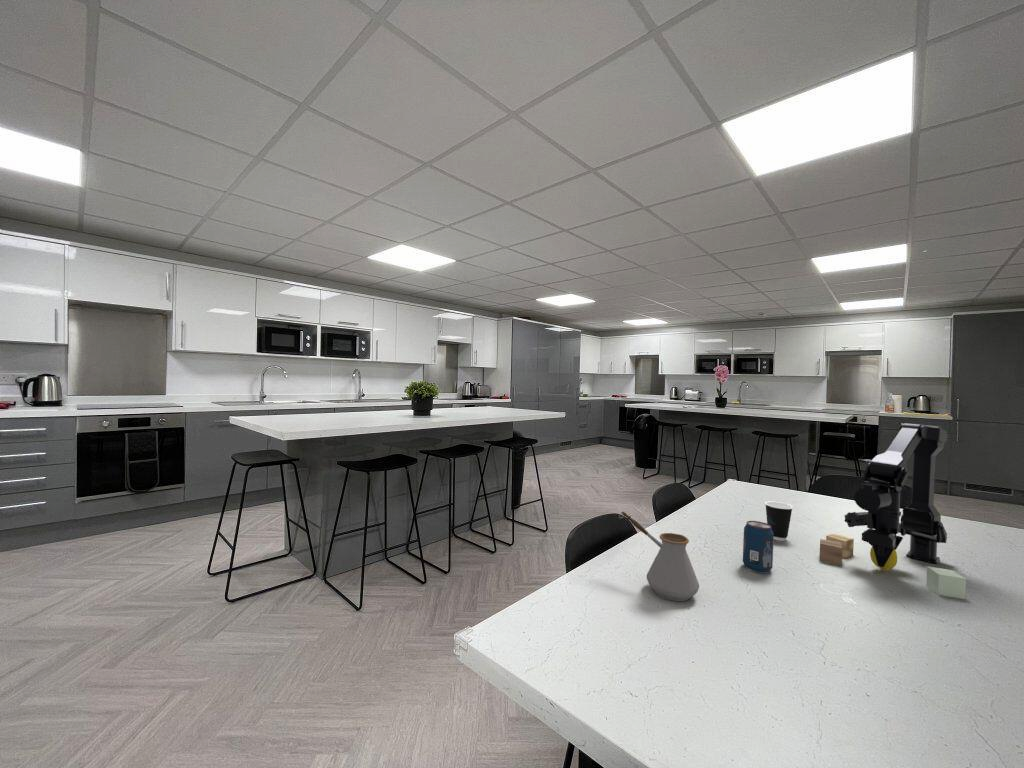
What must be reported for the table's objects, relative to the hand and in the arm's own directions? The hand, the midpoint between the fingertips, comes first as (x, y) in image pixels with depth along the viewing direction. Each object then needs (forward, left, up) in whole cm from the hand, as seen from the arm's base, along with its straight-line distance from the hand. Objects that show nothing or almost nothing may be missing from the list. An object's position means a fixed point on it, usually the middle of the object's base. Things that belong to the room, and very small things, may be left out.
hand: (883, 563), depth 114 cm
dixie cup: (-4, -27, -2) cm, 27 cm away
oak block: (-6, -11, -2) cm, 13 cm away
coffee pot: (+60, -32, -2) cm, 68 cm away
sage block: (+2, +12, -2) cm, 12 cm away
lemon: (0, 0, -2) cm, 2 cm away
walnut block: (+3, -11, -2) cm, 12 cm away
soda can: (+28, -21, -2) cm, 35 cm away
